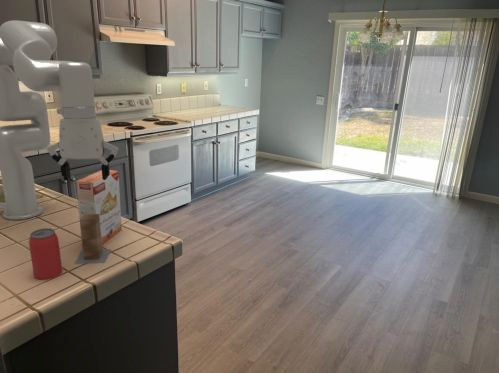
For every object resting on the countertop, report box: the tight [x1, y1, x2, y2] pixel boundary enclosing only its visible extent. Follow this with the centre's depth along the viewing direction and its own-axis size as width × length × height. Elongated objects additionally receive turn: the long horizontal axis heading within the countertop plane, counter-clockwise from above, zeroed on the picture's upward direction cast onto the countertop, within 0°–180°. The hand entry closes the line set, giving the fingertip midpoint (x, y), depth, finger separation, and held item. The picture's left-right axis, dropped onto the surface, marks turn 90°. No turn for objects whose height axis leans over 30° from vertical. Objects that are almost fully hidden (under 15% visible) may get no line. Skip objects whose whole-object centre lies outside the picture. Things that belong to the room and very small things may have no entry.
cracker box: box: [75, 169, 123, 247], centre depth 117 cm, size 14×6×21 cm, turn 168°
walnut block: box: [79, 214, 103, 260], centre depth 107 cm, size 4×4×12 cm
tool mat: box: [74, 248, 112, 265], centre depth 108 cm, size 8×8×1 cm
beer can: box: [28, 227, 63, 281], centre depth 98 cm, size 7×7×12 cm
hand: (86, 178), depth 101 cm, fingers open, 9 cm apart
